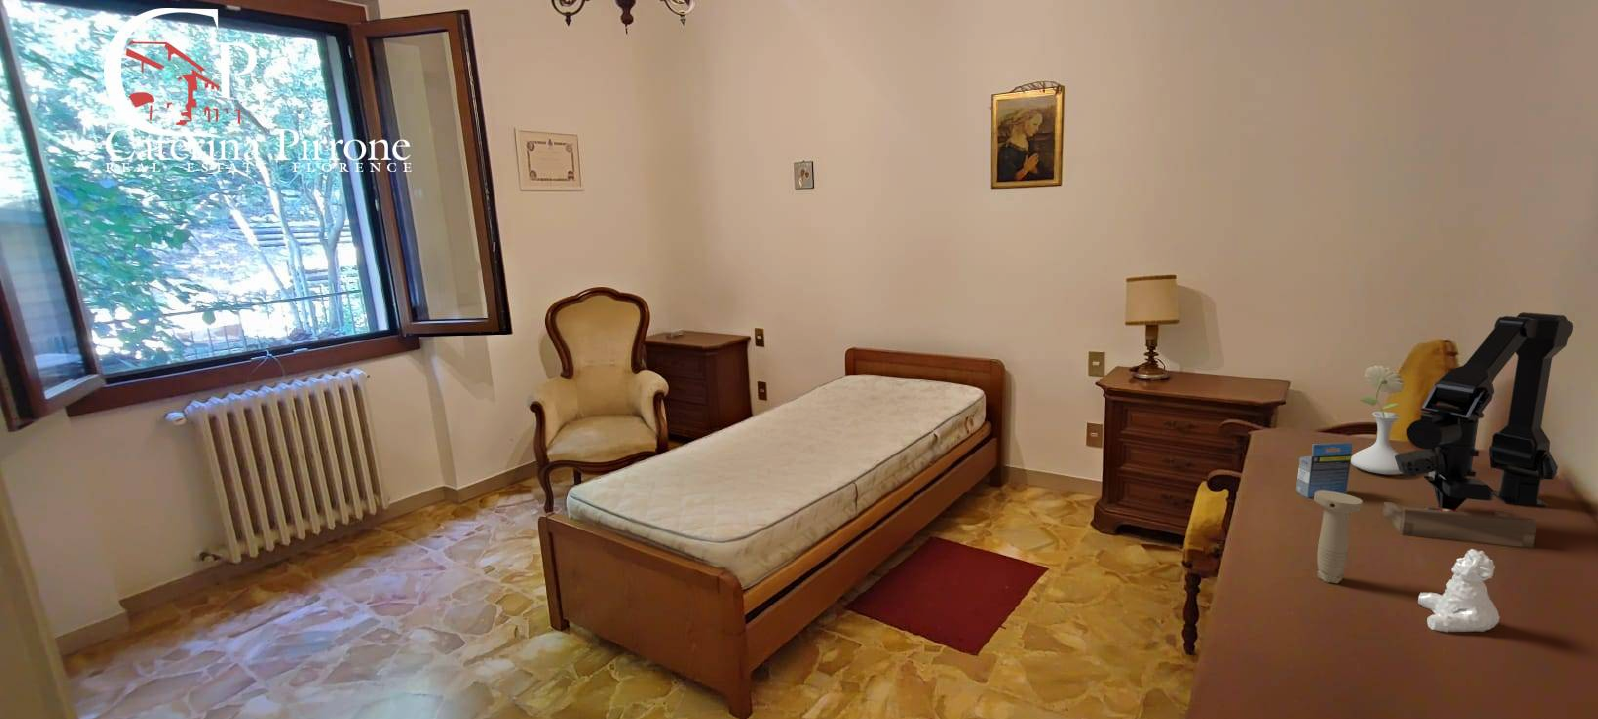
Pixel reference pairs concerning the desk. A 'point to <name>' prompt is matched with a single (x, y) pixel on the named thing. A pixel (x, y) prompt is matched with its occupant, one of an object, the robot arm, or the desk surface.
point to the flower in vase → (1380, 425)
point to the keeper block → (1462, 526)
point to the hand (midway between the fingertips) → (1444, 516)
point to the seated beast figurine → (1464, 598)
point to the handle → (1334, 533)
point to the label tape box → (1324, 469)
